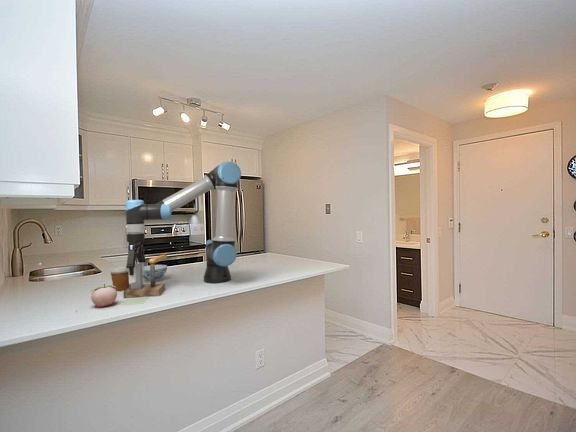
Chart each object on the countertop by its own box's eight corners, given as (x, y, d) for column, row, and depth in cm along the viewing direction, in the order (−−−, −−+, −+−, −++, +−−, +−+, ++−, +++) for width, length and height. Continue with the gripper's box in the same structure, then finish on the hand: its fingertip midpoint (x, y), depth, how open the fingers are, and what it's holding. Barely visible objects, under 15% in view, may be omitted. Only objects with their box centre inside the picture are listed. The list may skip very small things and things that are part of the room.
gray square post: (143, 292, 145) (142, 263, 144) (140, 294, 141) (139, 264, 140) (134, 293, 144) (133, 263, 144) (131, 295, 140) (130, 265, 140)
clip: (154, 263, 142) (153, 259, 142) (148, 263, 142) (147, 259, 142) (167, 258, 157) (167, 254, 157) (162, 258, 157) (162, 254, 157)
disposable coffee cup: (122, 294, 146) (122, 269, 145) (105, 293, 148) (104, 269, 147) (136, 289, 155) (135, 265, 155) (120, 288, 157) (119, 265, 157)
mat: (149, 299, 136) (149, 297, 136) (143, 306, 127) (143, 303, 127) (127, 301, 135) (127, 298, 135) (120, 307, 126) (119, 305, 126)
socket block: (164, 291, 150) (164, 261, 150) (159, 298, 139) (158, 265, 138) (132, 293, 148) (131, 262, 147) (123, 300, 136) (122, 267, 135)
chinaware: (165, 276, 184) (164, 263, 184) (169, 281, 171) (169, 267, 171) (137, 279, 176) (137, 266, 176) (140, 285, 164) (139, 270, 163)
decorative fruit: (96, 313, 119) (95, 287, 119) (89, 309, 125) (88, 284, 124) (121, 307, 126) (120, 283, 126) (114, 303, 132) (113, 280, 132)
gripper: (135, 231, 153) (136, 274, 154) (117, 235, 129) (118, 285, 130) (151, 231, 154) (152, 273, 155) (136, 235, 130) (137, 284, 131)
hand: (136, 279), depth 142 cm, fingers open, 12 cm apart
